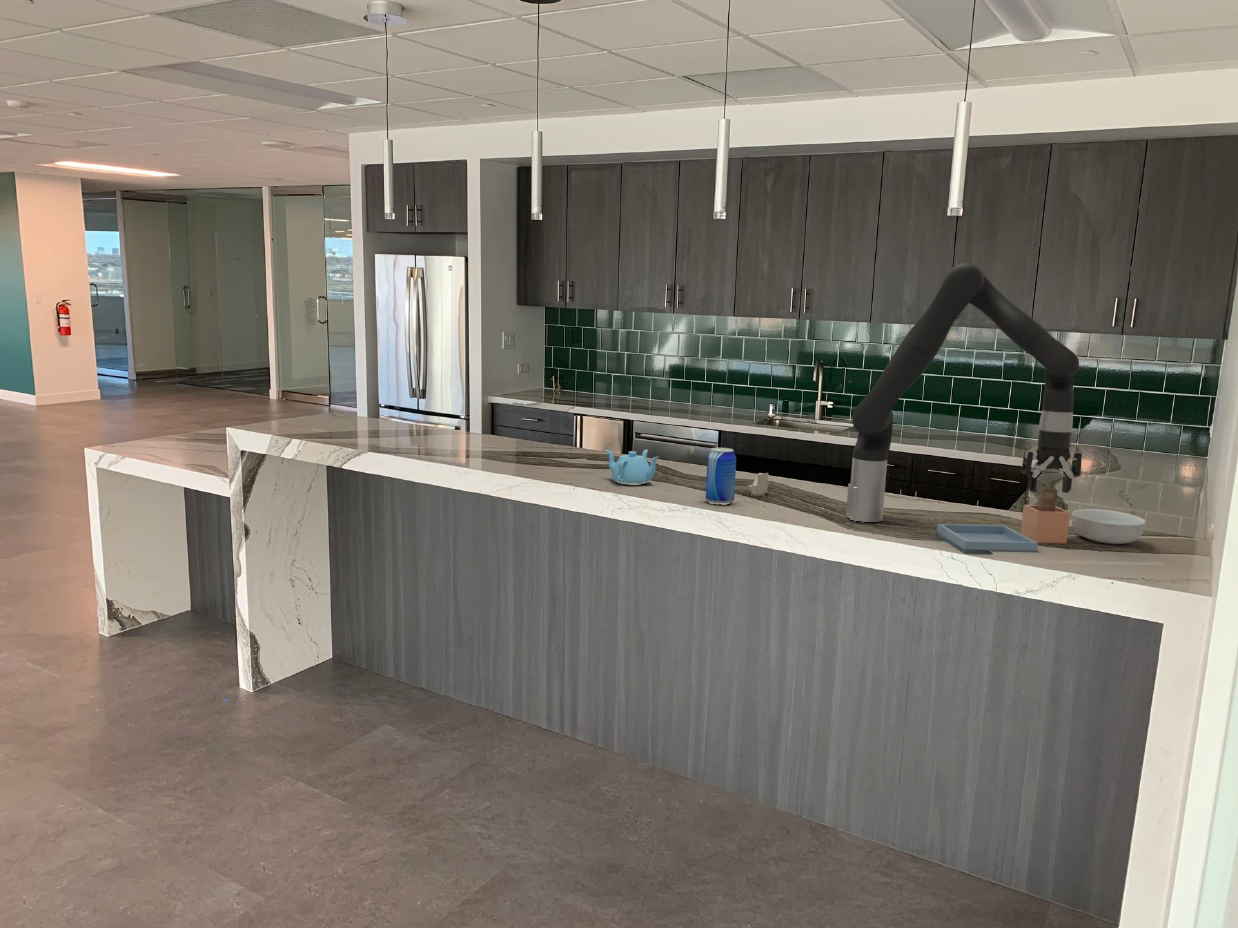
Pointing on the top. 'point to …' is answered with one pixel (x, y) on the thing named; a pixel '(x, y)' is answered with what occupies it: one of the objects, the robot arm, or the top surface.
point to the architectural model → (760, 484)
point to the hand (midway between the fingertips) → (1048, 491)
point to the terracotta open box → (1045, 524)
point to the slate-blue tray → (985, 538)
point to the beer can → (721, 475)
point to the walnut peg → (1047, 499)
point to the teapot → (632, 467)
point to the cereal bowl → (1107, 526)
